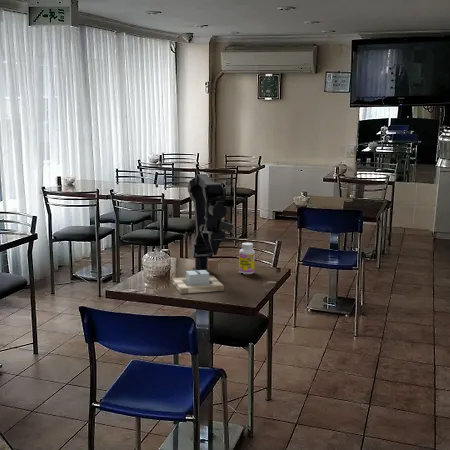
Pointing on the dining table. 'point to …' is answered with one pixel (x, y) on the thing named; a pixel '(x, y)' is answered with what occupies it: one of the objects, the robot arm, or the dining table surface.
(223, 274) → the dining table surface
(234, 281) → the dining table surface
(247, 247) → the supplement bottle
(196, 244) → the robot arm
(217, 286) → the birch pocket board
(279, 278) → the dining table surface
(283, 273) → the dining table surface
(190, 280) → the grey-blue cabinet box
